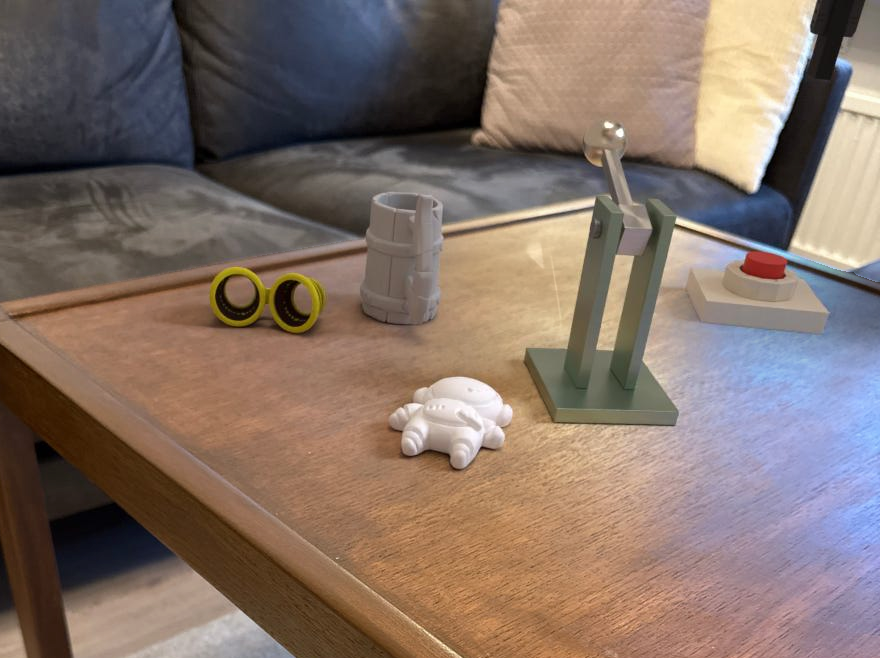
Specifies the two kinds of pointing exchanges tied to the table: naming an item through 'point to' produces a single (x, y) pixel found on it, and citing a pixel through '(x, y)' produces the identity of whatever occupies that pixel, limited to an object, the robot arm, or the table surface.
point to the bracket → (620, 370)
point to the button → (764, 265)
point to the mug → (403, 258)
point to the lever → (618, 182)
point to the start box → (755, 300)
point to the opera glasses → (267, 300)
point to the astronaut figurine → (453, 419)
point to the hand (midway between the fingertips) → (818, 76)
